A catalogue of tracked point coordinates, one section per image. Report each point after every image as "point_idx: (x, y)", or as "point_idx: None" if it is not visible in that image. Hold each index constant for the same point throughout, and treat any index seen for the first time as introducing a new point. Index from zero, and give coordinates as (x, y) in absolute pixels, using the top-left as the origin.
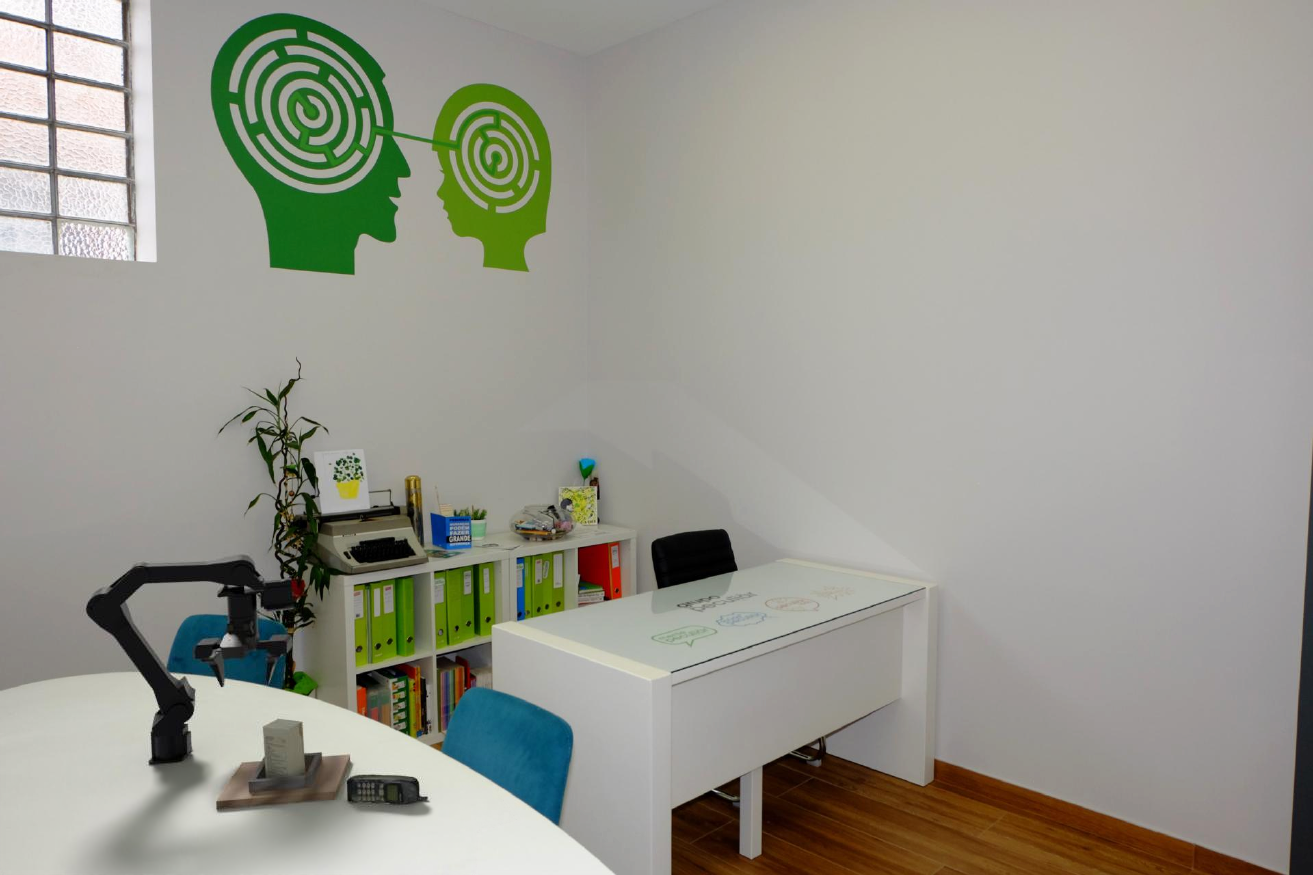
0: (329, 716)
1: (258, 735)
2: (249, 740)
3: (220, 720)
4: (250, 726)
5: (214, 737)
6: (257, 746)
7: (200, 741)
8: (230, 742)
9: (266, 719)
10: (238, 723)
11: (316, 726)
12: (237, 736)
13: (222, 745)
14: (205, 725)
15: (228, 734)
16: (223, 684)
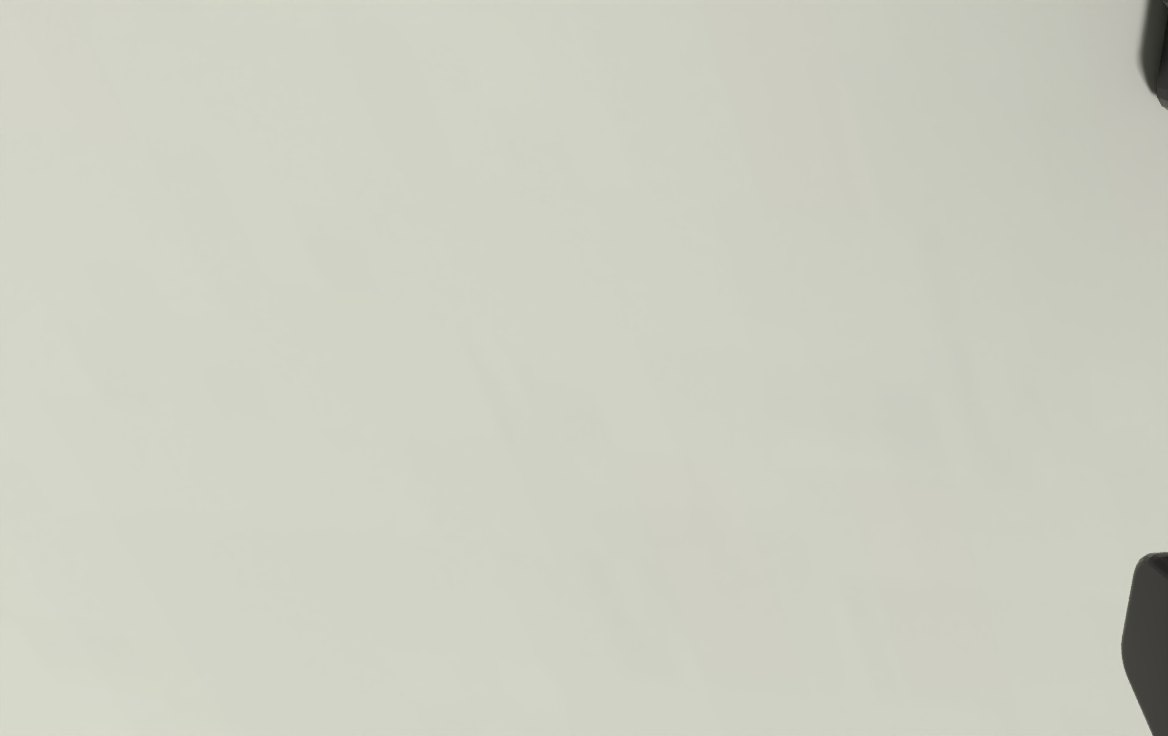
0: (17, 716)
1: (527, 379)
2: (577, 266)
3: (1008, 728)
4: (686, 586)
5: (974, 377)
6: (425, 95)
7: (1099, 295)
8: (768, 236)
9: (587, 710)
10: (823, 656)
11: (22, 526)
12: (740, 377)
13: (834, 165)
14: None
15: (848, 433)
16: (1151, 642)
